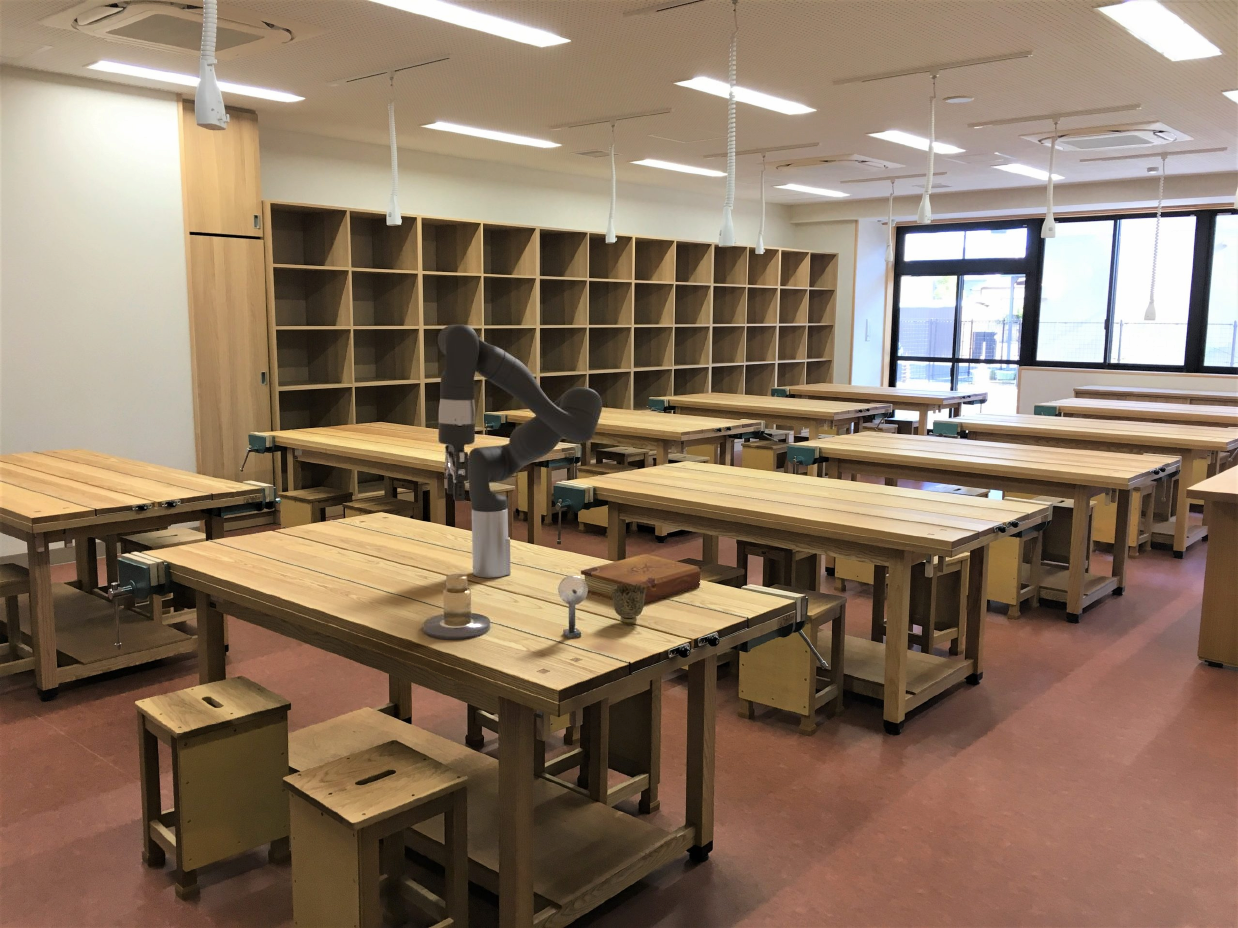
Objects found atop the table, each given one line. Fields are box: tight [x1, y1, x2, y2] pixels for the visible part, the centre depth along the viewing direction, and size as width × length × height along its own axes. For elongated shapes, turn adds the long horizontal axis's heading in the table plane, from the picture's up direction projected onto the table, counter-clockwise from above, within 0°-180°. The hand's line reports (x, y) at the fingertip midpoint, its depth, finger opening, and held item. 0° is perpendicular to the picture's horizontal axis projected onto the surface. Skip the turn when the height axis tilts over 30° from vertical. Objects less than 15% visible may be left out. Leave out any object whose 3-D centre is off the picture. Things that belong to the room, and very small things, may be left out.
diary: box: [580, 554, 701, 605], centre depth 233 cm, size 23×19×6 cm
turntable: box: [422, 612, 491, 641], centre depth 202 cm, size 14×14×2 cm
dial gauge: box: [557, 574, 589, 639], centre depth 197 cm, size 6×4×13 cm, turn 109°
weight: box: [442, 573, 472, 626], centre depth 202 cm, size 6×6×10 cm
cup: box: [611, 583, 646, 626], centre depth 206 cm, size 8×7×8 cm
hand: (455, 497), depth 201 cm, fingers open, 8 cm apart
